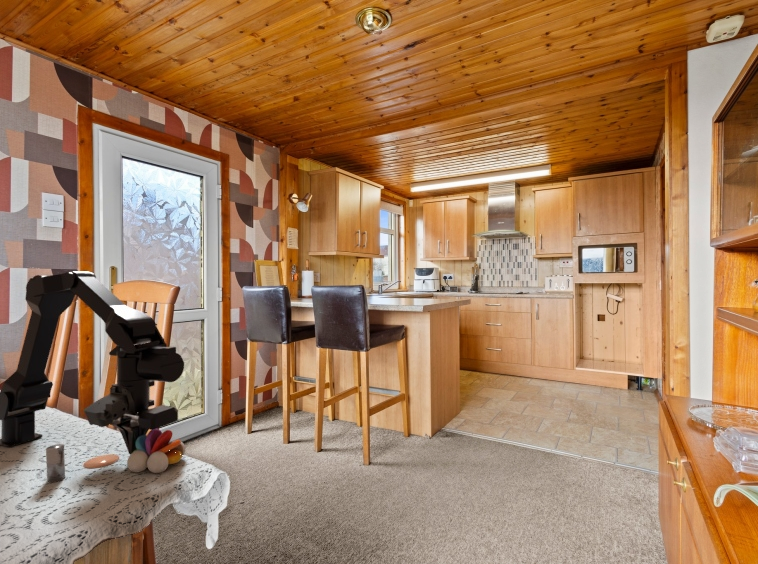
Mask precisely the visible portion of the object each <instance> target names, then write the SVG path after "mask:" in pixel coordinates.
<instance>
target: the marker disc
mask: <svg viewBox="0 0 758 564" xmlns="http://www.w3.org/2000/svg"><path fill="white" fill-rule="evenodd" d="M119 459H120V456H119V455H117V454H102V455H99V456H95V457H92V458H90V459H88V460H86V461H85V462H84V463H83V464H82V465H83V466H82V467H84V468H86V469H97V468H104V467H107V466H109V465H112V464H115V463H116V462H117V460H119Z"/></svg>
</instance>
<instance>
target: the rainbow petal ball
mask: <svg viewBox="0 0 758 564" xmlns="http://www.w3.org/2000/svg"><path fill="white" fill-rule="evenodd" d="M172 438H173V431H172V430H171V429H167V430H165V431H163V432H162V430H160V429H159V428H157V429H152V430H150V431H148V432H147V434H146V435H142V436H140V437H138V438H137V440H136V448H137V450H135V451H134V452H133V453H132V454H131V455H130V454H129V456H128V458H127V460H126V464H127V468H128V469H129V470H130V471H131V472H133V473H141V472H143V471H145V470H146V469H147V468H148V470H149V471H150V472H151V473H153V474H160V473H162V472H165V471H166V469H167V468H168V466H169V465H172V464H173V465H174V464H176V463H179V462H180V460H182V458H183V457H184V456H182V455H185V453H186V445H185V444H184V442H182V441H181V439H176V440H173V441H171V440H172ZM169 450H170V451H169ZM175 452H176V453H175ZM180 454H181V455H180Z"/></svg>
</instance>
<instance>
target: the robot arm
mask: <svg viewBox="0 0 758 564" xmlns="http://www.w3.org/2000/svg"><path fill="white" fill-rule="evenodd" d="M25 291H26V292H25V302H26V304H27V305H28V307H29V308H30V310H31V312H30V317H29V321H28V325H27V329H26V333H25V336H24V341H23V344H22V348H21V352H20V356H19V360H18V364H17V366H16V367H17V368H16V370H15V372H13V373H12V374H11V375H10V376H9V377H8V378H7V379H6V380H5V381H4V382H3V384H2V387H1V388H0V421H1V438H0V446H4V447H7V448H10V447H11V448H12V447H14V446H18V445H20V444H21V445H22V444H25V443H27V442H31V441H34V440H36V439H41V438H42V437H43V434H41V433H37V432H36V418H35V417H36V412H38V411H42V410H45V409H46V408H47V407H46V406H47V404H48V400H49V398H51V392H52V388H53V385H54V384H53V382H52V381H51V380H49V378H48V376H47V374H46V368H47V365H48V362H49V357H50V353H51V349H52V346H53V343H54V338H55V335H56V331H57V327H58V323H59V320H60V317H61V315H62V314H63V313H64V312H65V311H66V310H68V309H69V308H70V306H72V304H73V302H74V300H75V297H78V298H79V299H80V300H81V301H82V302H83V304H85V305H86V306H87V307H89V309H91V311H92V312H94V313H95V314H96V315H97V316H98V317H99V318H100V319H101V320H102V321H103V322H104V324H105V326H104V327H105V329H104V330H105V333H106V334H107V336H108V337H109V338H110V340H111V341H112V343H114V345H116V346H115V347H114V348H113V349H111V350H110V351H109V352H108V354H109V356H116V383H114V384H111V387H110V389H109V394H107V395H105V396H103V397H100V398H99V399H97V400H96V401H95V402H93V403H91V404H90V405H88V406H87V407H85V408H84V409H83V411H84V415H85V417H86V419H87V421H88V423H89V425H90V426H93V425H94V426H97V427H99V428H104V427H107V426H109V425H110V426H112V427H114V428H116V429H117V430H118V431H119V432H120V434H121V437H122V439H123V441H124V443H125V446H126V449H127V452H128V454H129V456H130V455H131V454H132V453H133V452H134V451H135V450H137V448H136V440H137V438H138V437H140V436H142V435H148V433H149V430H150V431H151V430H152V429H159V428H162V427H164V426H168V425H170V424H172V423H175V422H177V421H178V420H179V410H178V409H177V408H176V407H175V406H169V405H163V404H161V405H158V406H155V400H154V399H151V398H150V395H151V394H150V392H151V391H150V390H151V389H150V388H151V387H154V386H155V381H156V382H164V383H174V382H175V381H177V380H179V379H180V377H181V376H182V374H183V373H184V369H185V361H184V360H183V359H184V358H183V357H182V355H181V354H179V353H177V347H176V346H167V345H168V344H167V343H166V341H165V338H164V337H163V335H162V334H161V332H160V331H159V328H158V327H157V324H156V321H155V320H154V318H152V316H150V315H148V314H147V313H145V312H143V311H141V310H139V309H136V308H132V307H130V306H128V305H126V304H125V303H124V302H123V301H122V300H120V299H119V298H118V297H117V296H116V295H115V294H114V293H113V292H112V291H111V290H109V289H108V288H107V287H106V286H105V285H104V284H103V283H101V281H99V280H98V279H97V276H96V274H94V273H93V272H91V271H83V270H82V271H80V270H79V271H77V270H73V271H71V270H70V271H68V272H63V273H59V274H52V275H51V274H37V275H35V276H33V277H30V278H29V280H28V281H27V282H26V285H25ZM153 406H155V407H153ZM150 407H153V408H150Z"/></svg>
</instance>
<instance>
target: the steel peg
mask: <svg viewBox="0 0 758 564" xmlns="http://www.w3.org/2000/svg"><path fill="white" fill-rule="evenodd" d="M45 453H46V454H45V456H46V458H45V459H46V482H47V483H51V484H52V483H56V482H60V481H62V480H63V479H65V478H66V468H65V467H66V466H65V465H66V463H65V445H64V443H57V444H53V445H50V446H47V447H46V449H45Z"/></svg>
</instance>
